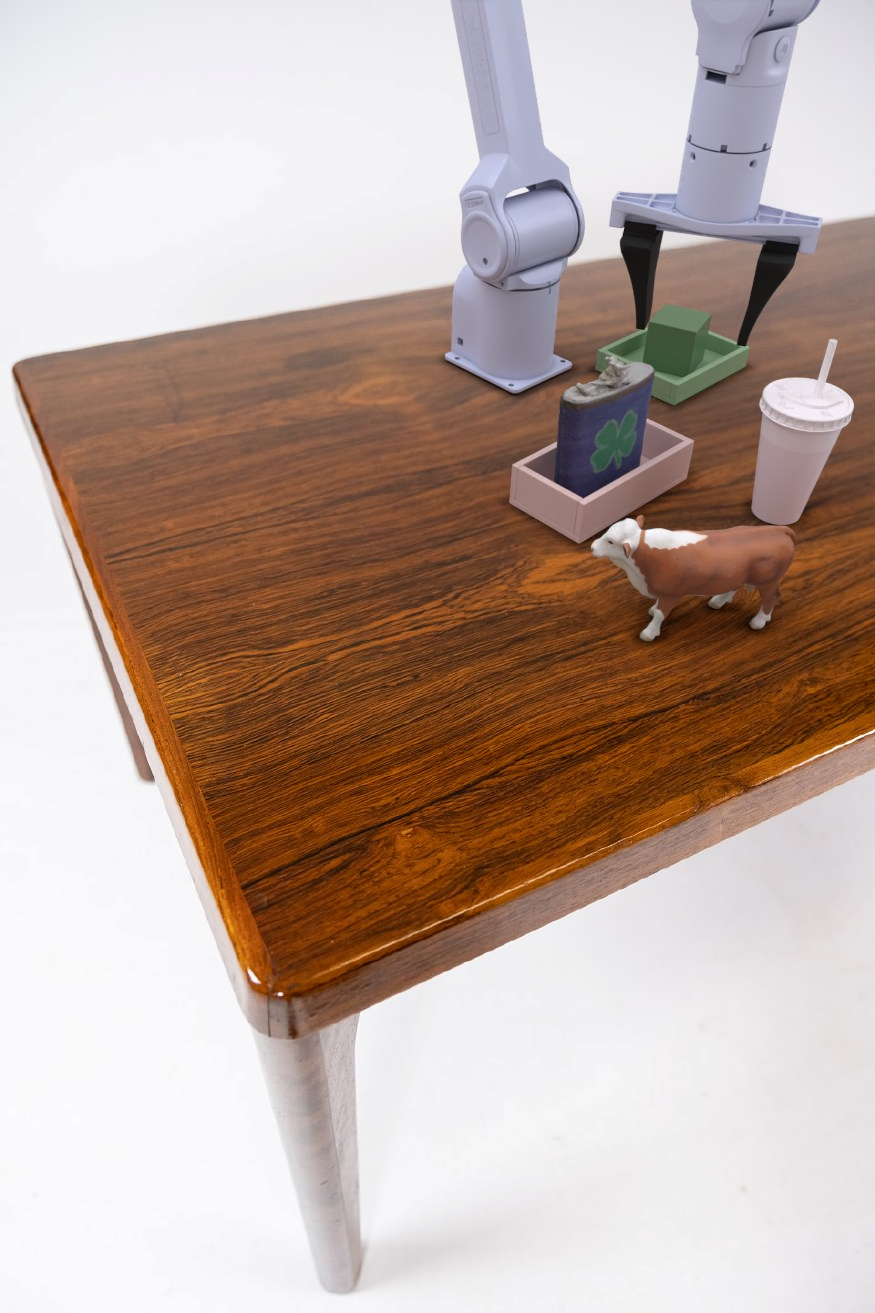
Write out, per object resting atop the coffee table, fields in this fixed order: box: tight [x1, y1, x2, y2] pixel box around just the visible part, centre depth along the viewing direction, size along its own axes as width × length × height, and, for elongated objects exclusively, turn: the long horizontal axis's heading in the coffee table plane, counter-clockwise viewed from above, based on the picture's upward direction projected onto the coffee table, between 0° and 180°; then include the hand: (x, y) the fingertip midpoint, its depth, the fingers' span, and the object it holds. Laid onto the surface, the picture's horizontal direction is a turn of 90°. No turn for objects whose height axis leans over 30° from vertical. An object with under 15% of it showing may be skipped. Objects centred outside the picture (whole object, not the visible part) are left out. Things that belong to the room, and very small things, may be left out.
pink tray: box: [508, 418, 695, 545], centre depth 79 cm, size 7×13×4 cm, turn 133°
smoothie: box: [750, 338, 855, 526], centre depth 74 cm, size 6×6×14 cm
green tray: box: [594, 326, 751, 406], centre depth 95 cm, size 9×11×2 cm
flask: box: [554, 356, 655, 499], centre depth 76 cm, size 9×3×11 cm, turn 131°
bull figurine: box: [590, 514, 797, 642], centre depth 66 cm, size 4×13×8 cm, turn 95°
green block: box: [642, 303, 713, 377], centre depth 94 cm, size 4×4×4 cm
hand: (692, 332), depth 78 cm, fingers open, 7 cm apart
